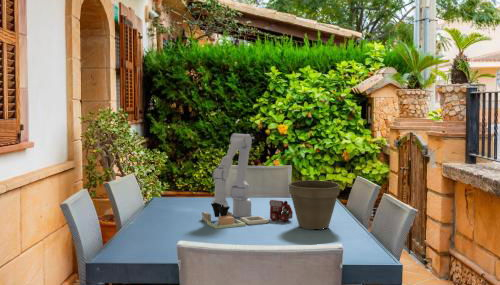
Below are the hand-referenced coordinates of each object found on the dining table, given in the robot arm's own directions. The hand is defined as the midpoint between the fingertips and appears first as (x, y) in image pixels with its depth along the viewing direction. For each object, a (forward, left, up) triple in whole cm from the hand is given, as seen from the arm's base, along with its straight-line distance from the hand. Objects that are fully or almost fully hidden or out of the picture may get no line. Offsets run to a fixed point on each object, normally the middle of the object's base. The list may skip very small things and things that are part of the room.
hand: (219, 218), depth 282 cm
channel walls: (0, -4, -2) cm, 4 cm away
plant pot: (-38, +28, -2) cm, 47 cm away
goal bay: (0, +7, -2) cm, 7 cm away
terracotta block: (0, +8, -2) cm, 8 cm away
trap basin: (-16, +7, -2) cm, 18 cm away
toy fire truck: (-31, +8, -2) cm, 32 cm away
